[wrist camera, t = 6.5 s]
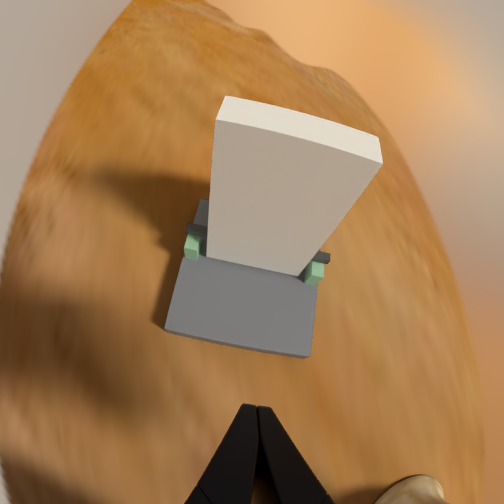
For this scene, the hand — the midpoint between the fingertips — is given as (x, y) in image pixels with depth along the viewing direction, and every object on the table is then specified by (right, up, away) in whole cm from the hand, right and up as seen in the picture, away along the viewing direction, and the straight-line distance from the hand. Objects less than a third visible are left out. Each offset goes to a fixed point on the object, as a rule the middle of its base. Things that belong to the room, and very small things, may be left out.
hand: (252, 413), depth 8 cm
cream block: (0, +4, +12) cm, 13 cm away
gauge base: (0, +3, +13) cm, 13 cm away
